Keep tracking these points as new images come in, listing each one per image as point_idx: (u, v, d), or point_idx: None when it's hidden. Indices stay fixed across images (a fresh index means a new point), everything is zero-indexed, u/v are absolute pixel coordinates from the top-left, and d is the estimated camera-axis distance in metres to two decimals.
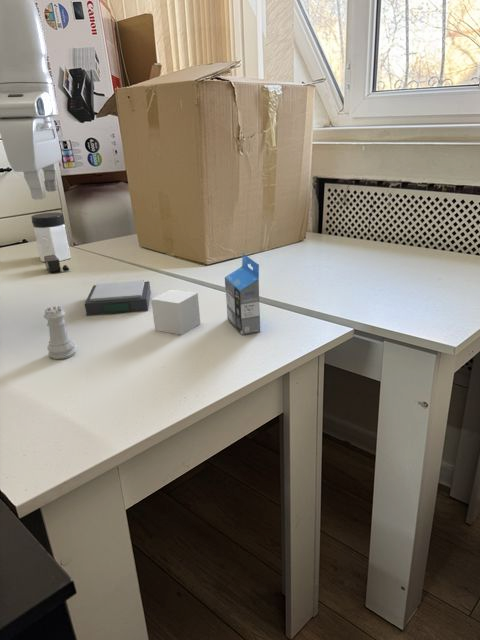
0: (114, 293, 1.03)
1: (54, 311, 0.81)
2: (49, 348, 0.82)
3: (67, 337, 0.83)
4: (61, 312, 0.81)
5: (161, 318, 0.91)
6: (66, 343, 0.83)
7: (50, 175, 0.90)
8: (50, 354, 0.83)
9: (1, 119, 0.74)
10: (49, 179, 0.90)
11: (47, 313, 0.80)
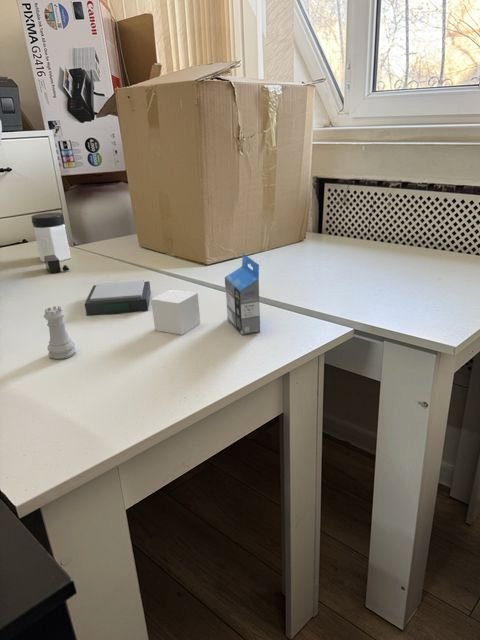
0: (114, 293, 1.03)
1: (54, 311, 0.81)
2: (49, 348, 0.82)
3: (67, 337, 0.83)
4: (61, 312, 0.81)
5: (161, 318, 0.91)
6: (66, 343, 0.83)
7: None
8: (50, 354, 0.83)
9: None
10: None
11: (47, 313, 0.80)
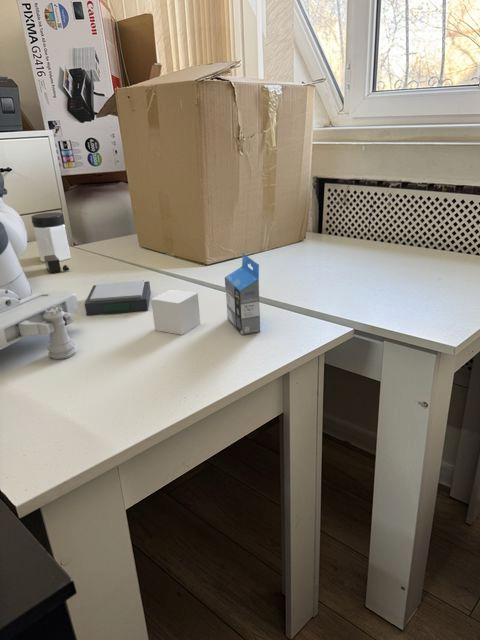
0: (114, 293, 1.03)
1: (54, 311, 0.81)
2: (49, 348, 0.82)
3: (67, 337, 0.83)
4: (61, 312, 0.81)
5: (161, 318, 0.91)
6: (66, 343, 0.83)
7: None
8: (50, 354, 0.83)
9: None
10: None
11: (47, 313, 0.80)
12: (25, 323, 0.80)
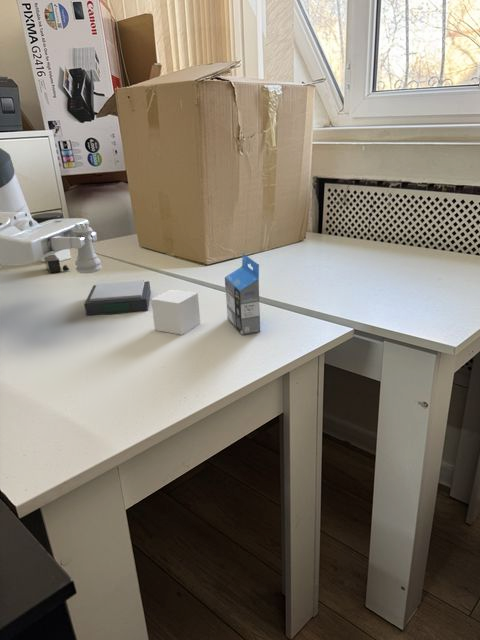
0: (114, 293, 1.03)
1: (83, 226, 0.86)
2: (78, 263, 0.87)
3: (94, 253, 0.89)
4: (90, 227, 0.87)
5: (161, 318, 0.91)
6: (94, 258, 0.88)
7: None
8: (79, 269, 0.88)
9: None
10: None
11: (78, 228, 0.85)
12: (57, 237, 0.84)
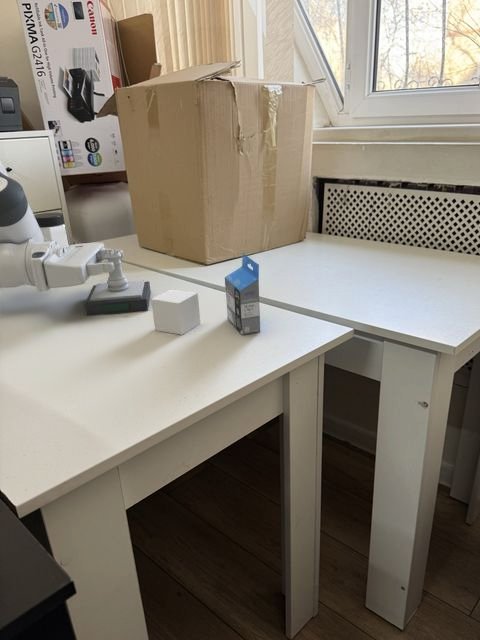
0: (114, 293, 1.03)
1: (114, 252, 1.02)
2: (112, 283, 1.03)
3: None
4: None
5: (161, 318, 0.91)
6: (124, 278, 1.04)
7: None
8: (112, 288, 1.04)
9: (48, 285, 0.96)
10: None
11: (110, 253, 1.01)
12: (92, 264, 0.97)
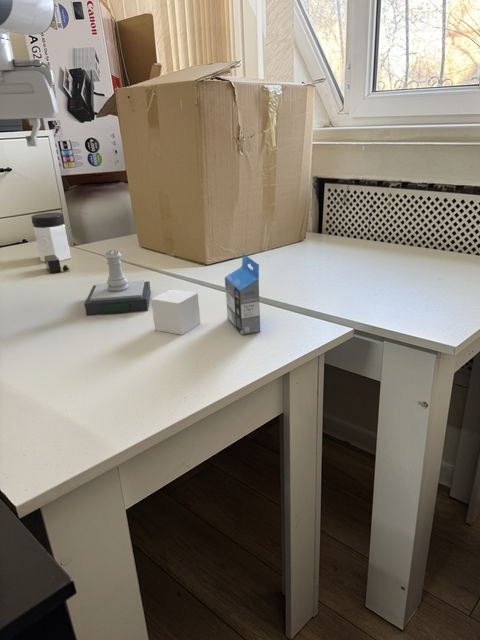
0: (114, 293, 1.03)
1: (114, 252, 1.02)
2: (112, 283, 1.03)
3: None
4: None
5: (161, 318, 0.91)
6: (124, 278, 1.04)
7: None
8: (112, 288, 1.04)
9: None
10: None
11: (110, 253, 1.01)
12: None
